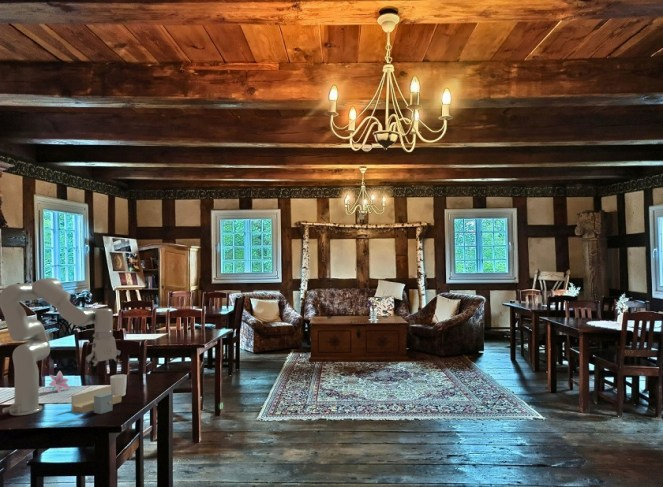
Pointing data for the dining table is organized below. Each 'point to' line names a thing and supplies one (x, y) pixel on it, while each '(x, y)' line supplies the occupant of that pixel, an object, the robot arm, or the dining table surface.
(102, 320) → the robot arm
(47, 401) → the dining table surface
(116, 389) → the white cup
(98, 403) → the cabinet
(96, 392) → the cleat board
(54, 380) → the lily
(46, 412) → the dining table surface
